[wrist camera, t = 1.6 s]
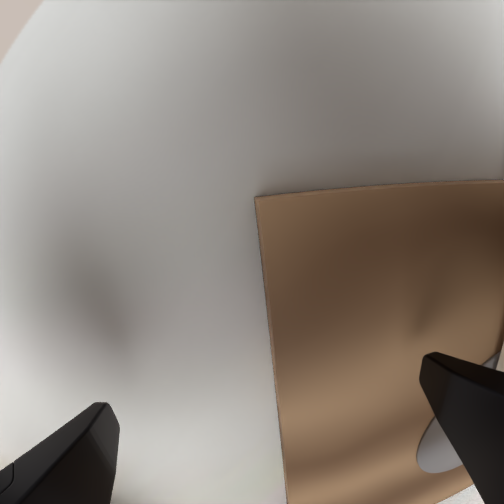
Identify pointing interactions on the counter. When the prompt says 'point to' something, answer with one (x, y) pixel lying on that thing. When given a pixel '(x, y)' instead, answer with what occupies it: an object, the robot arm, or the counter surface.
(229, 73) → the counter surface
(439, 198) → the dial board
